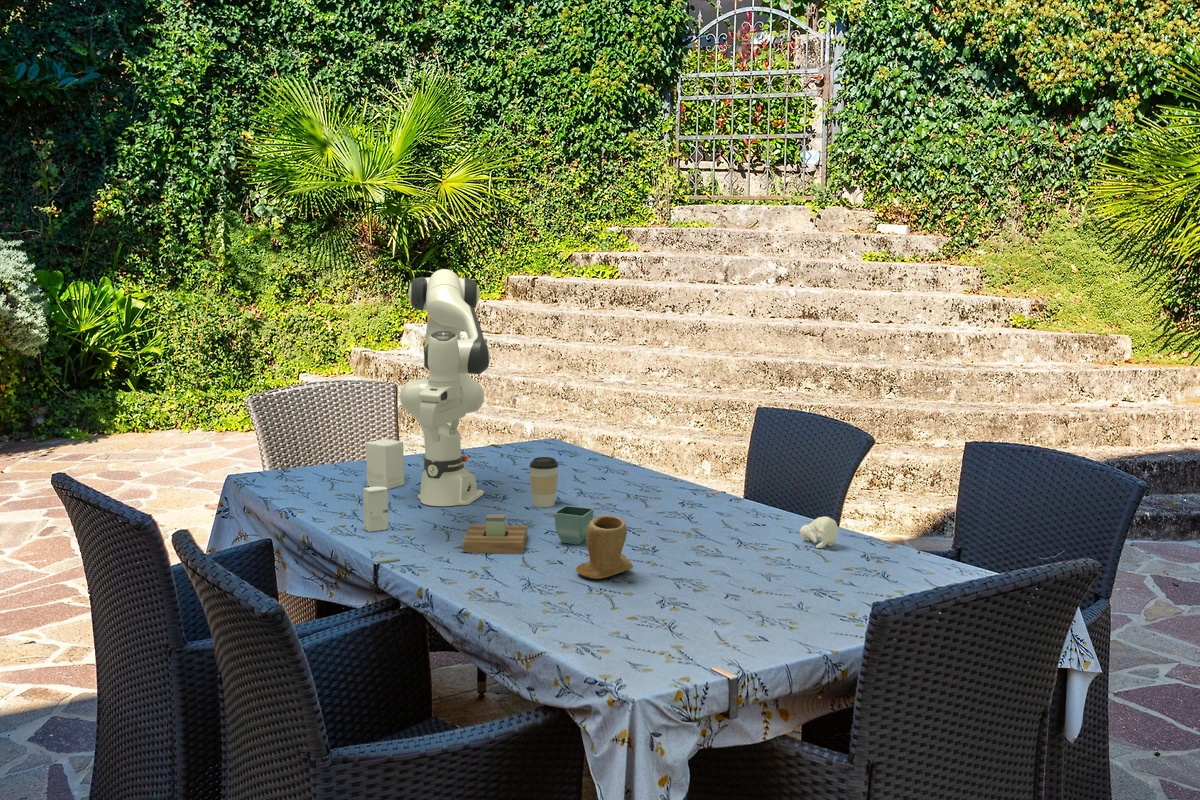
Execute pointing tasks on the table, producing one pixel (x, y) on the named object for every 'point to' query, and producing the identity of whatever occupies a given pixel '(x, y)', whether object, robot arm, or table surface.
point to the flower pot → (572, 523)
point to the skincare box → (375, 508)
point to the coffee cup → (543, 481)
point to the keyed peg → (495, 525)
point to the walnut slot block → (495, 540)
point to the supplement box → (385, 463)
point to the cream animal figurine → (820, 531)
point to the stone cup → (605, 548)
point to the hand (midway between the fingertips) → (444, 438)
